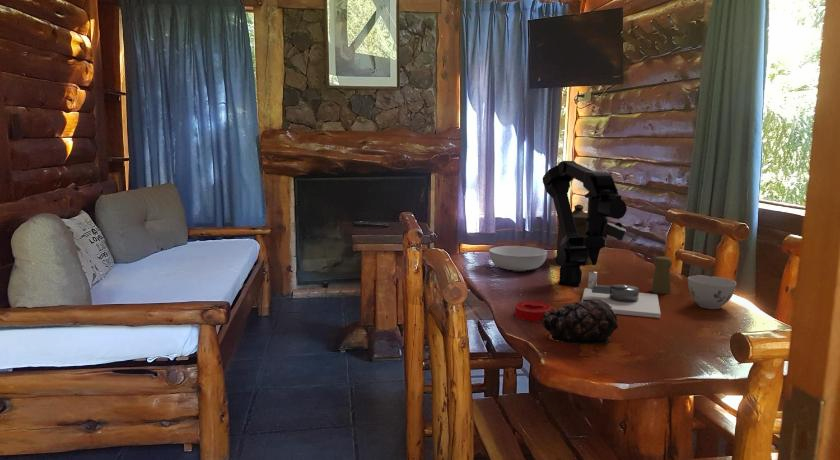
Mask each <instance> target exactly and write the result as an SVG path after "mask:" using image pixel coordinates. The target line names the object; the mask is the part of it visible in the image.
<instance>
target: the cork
mask: <svg viewBox="0 0 840 460" xmlns="http://www.w3.org/2000/svg"><path fill="white" fill-rule="evenodd" d="M672 264H673V261H672V258H670V257H667V256H657V257H655V258H654V260H653V265H654V267H655V269H654V273H653V277H652V282H651V286H650V292H652V293H653V294H660V295H661V294H662V295H669V294H671V293H672V287H671V273H670V272H671V269H670V268H671V267H672Z"/></svg>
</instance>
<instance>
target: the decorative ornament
mask: <svg viewBox="0 0 840 460" xmlns="http://www.w3.org/2000/svg"><path fill="white" fill-rule="evenodd" d="M552 308H553V307H552V306H551V305H550V304H549V303H545V302H542V301H535V300H531V301H530V300H525V301H521V302H518V303H516V304H515V309H514V310H515V312H514V313H515V314H514V315H516V316H517V317H518V318H517V317H516V316H515V317H516V318H517V319H519V318H521V319H524V320H523V321H525V320H529V321H528V322H533V321H541V319H542V318H543V317H544V316H543V314H544V313H546V312H549V313H550V312H551V311H553V309H552ZM521 319H520V320H521Z"/></svg>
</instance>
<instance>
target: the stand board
mask: <svg viewBox="0 0 840 460" xmlns="http://www.w3.org/2000/svg"><path fill="white" fill-rule="evenodd" d="M609 296H610V294H602V293H592V289H588V287H585V288H584V291H583V294H582V296H581V297H582V298H581V301H583V300H584V299H587V300H588V299H599V300H601V301H604V302H606V303H607V304H609V306H610V307H611V309H612V310H613V312H614V314H616V315H624V316H633V317H634V316H636V317H645V318H658V319H661V309H660V303H659V296H658V293H648V292H647V293H646V292H639V297H638V300H637V301H633V302H623V301H617V300H613V299H611V298H610V297H609Z"/></svg>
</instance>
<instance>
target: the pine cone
mask: <svg viewBox="0 0 840 460" xmlns="http://www.w3.org/2000/svg"><path fill="white" fill-rule="evenodd" d="M543 316H544V317H543V318H542V319H541V322H540V323H541V325H542V326H543V327H544V329H545V330H546V331H547V332H549V333H550V334H551V335H552V338H553V339H554V340H559V342H560V341H563V342H566V343H565V344H573V345H574V344H575V345H605V344H608V343H609V342H611V340H612V339H611V336H612V334H613V333H614V332H615V331H616V330H617V329H618V328H619V325H618V323H617V322H618V318H617V317H618V314H614V312H613V310H612V309H611V307H610V306H609V304H607V303H606V302H604V301H601V300H599V299H588V300H587V299H584V300H583V301H582V300H581V301H576V302H571V303H569V304H563V305H562V306H560V307H559V308H557V309H552V311H551V312H550V313H549V312H546V313H544V314H543ZM550 334H548V335H550Z"/></svg>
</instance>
